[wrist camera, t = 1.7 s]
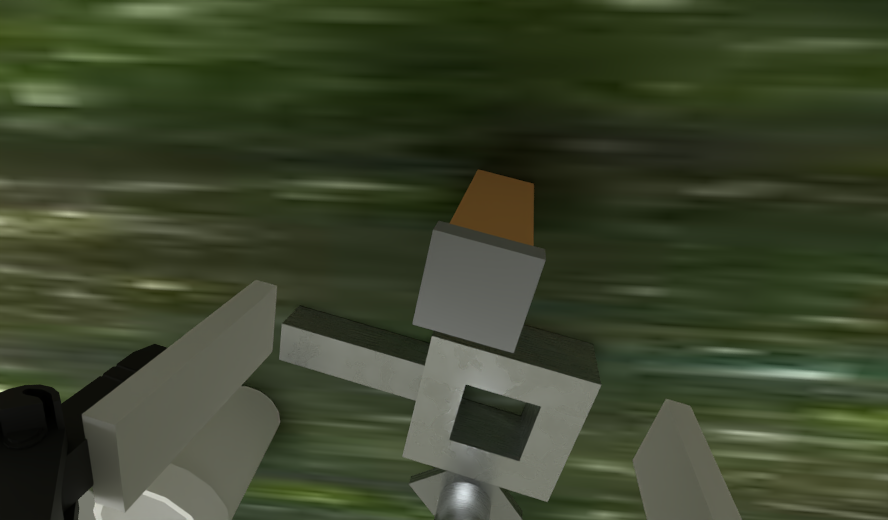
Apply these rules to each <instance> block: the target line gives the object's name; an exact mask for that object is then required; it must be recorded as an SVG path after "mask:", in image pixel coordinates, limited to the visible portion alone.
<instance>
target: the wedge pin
mask: <svg viewBox="0 0 888 520" xmlns="http://www.w3.org/2000/svg"><path fill="white" fill-rule="evenodd" d="M533 233H534V184H533V183H529V182H525V181H521V180H518V179H514V178H510V177H506V176H502V175H498V174H494V173H491V172H487V171H483V170H479V169H478V170H477V172H476V174H475V176H474V178H473V180H472V182H471V184H470V185H469V187H468V189H467V191H466V193H465V195H464V197H463V199H462V201H461V203H460V205H459V206H458V208H457V210H456V212H455V214H454V216H453V218H452V220H451V222H450V224H449V223H446V222H442V221H438V223H437V224H436V226H435V228H434V229H433V233H432V238H431V242H430V247H429V251H428V256H427V260H426V265H425V270H424V274H423V279H422V283H421V288H420V292H419V297H418V301H417V306H416V310H415V315H414V319H413V325H417V326H420V327H424V328H427V329H431V330H434V331H438V332H441V333H445V334H448V335H452V336H455V337H458V338H462V339H465V340H469V341H472V342H476V343H479V344H483V345H486V346H490V347H493V348H497V349H500V350H504V351H507V352H511V353H514V351H515V348H516V345H517V342H518V339H519V336H520V333H521V330H522V327H523V324H524V321H525V319H526V316H527V313H528V310H529V307H530V304H531V301H532V298H533V295H534V292H535V289H536V287H537V284H538V281H539V278H540V275H541V272H542V269H543V266H544V263H545V260H546V258H545V249H542V248H538V247H535V246H533Z"/></svg>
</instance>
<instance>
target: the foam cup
mask: <svg viewBox="0 0 888 520" xmlns="http://www.w3.org/2000/svg"><path fill="white" fill-rule="evenodd" d="M279 424H280V417H279V411H278V409H277V408H276V406H275V405H274V403H273V401H272V400H271V399H270V398H268V397H267V396H266V395H264V394H263V393H262V392H261V391H258V390H256V389H253V388H250V387H247V386H240V388H239V389H238V390H237V391H236V392H235V393H234V394H233V395H232V396H231V397H230V398H229V400H228V401H227V402H226V403H225V404H224V405H223V406H222V407H221V408H220V409H219V410H218V412H217V413H216V414H215V415H214V416H213V417H212V418H211V419H210V420H209V421H208V423H207V424H206V425H205V426H204V427H203V428H202V429H201V430H200V431H199V432H198V433H197V435H196V436H195V437H194V438H193V439H192V440H191V441H190V442H189V443H188V444H187V446H186V447H185V448H184V449H183V450H182V451H181V452H180V453H179V454H178V455H177V456H176V458H175V459H174V460H173V461H172V462H171V463H170V464H169V465H168V466H167V467H166V468H165V470H164V471H163V472H162V473H161V474H160V475H159V476H158V477H157V478H156V479H155V481H154V482H153V483H152V484H151V485H150V486H149V487H148V488H147V489H146V490H145V491H144V493H143V494H142V495H141V496H140V497H139V498H138V499H137V500H136V501H135V502H134V503H133V505H132V506H131V507H130V508H129V509H128V510H127V511H126V512H125V513H124V512H121V511H118V510H115V509H112V508H109V507H106V506H103V505H100V504H97V503H95V506H94V510H93V512H94V515H95V518H96V520H232V518H233V516H234V514H235V512H236V510H237V508H238V506H239V504H240V502H241V500H242V498H243V496H244V494H245V492H246V490H247V488H248V486H249V484H250V482H251V480H252V478H253V476H254V474H255V472H256V470H257V468H258V466H259V464H260V462H261V460H262V458H263V456H264V454H265V452H266V450H267V448H268V446H269V444H270V442H271V440H272V438H273V436H274V434H275V433H276V431H277V429H278V426H279Z"/></svg>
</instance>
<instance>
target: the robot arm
mask: <svg viewBox="0 0 888 520" xmlns="http://www.w3.org/2000/svg"><path fill="white" fill-rule="evenodd" d="M276 294H277V286H276V285H272V284H269V283H265V282H262V281H258V280H255V281H254V282H252V283H251V284H250V285H249V286H247V287H246V288H245V289H243V290H242V291H241V292H239V293H238V294H237V295H236V296H234V297H233V298H232V299H230V300H229V301H228V302H227V303H225V304H224V305H223V306H221V307H220V308H219V309H217V310H216V311H215V312H214V313H212V314H211V315H210V316H208V317H207V318H206V319H205V320H203V321H202V322H201V323H199V324H198V325H197V326H195V327H194V328H193V329H192V330H190V331H189V332H188V333H186V334H185V335H184V336H183V337H181V338H180V339H179V340H177V341H176V342H175V343H173V344H172V345H171V346H170V347H168V348H166V347H163V346H160V345H157V344H153V345H150V346H148V347H145V348H143V349H140V350H138V351H135V352H133V353H132V354H130V355H129V356H127V357H126V358H125V359H123V360H122V361H120V362H119V363H118V364H117V366H116V367H114V366H113V367H112V368H111V369H109V370H108V371H107V372H105V373H104V374H103V376H102V377H101V376H100V377H98V378H97V379H95V380H94V381H93V382H91V383H90V384H88V385H87V386H86V387H84V388H83V389H81V390H80V391H79V392H77V393H76V394H74V395H73V396H72V397H70V398H69V399H68V400H66V401H65V402H63V403H62V404H61V400H60V395H59V392H58V391H56V390H55V389H54V388H52V387H49V386H44V385H24V386H20V387H15V388H11V389H8V390H5V391H3V392H1V393H0V520H78V514H79V504H78V499H79V498H80V497H81V496H82V495H83V494H84V493H85V492H87V491H88V490H89V489H90V488H91V487H92V486H93V492H94V499H95V503H97V504H100V505H103V506H106V507H109V508H112V509H115V510H118V511H121V512H124V513H125V512H126V511H127V510H128V509H129V508H130V507H131V506H132V505H133V503H134V502H135V501H136V500H137V499H138V498H139V497H140V496H141V495H142V494H143V493H144V491H145V490H146V489H147V488H148V487H149V486H150V485H151V484H152V483H153V482H154V481H155V479H156V478H157V477H158V476H159V475H160V474H161V473H162V472H163V471H164V470H165V468H166V467H167V466H168V465H169V464H170V463H171V462H172V461H173V460H174V459H175V458H176V456H177V455H178V454H179V453H180V452H181V451H182V450H183V449H184V448H185V447H186V446H187V444H188V443H189V442H190V441H191V440H192V439H193V438H194V437H195V436H196V435H197V433H198V432H199V431H200V430H201V429H202V428H203V427H204V426H205V425H206V424H207V423H208V421H209V420H210V419H211V418H212V417H213V416H214V415H215V414H216V413H217V412H218V410H219V409H220V408H221V407H222V406H223V405H224V404H225V403H226V402H227V401H228V400H229V398H230V397H231V396H232V395H233V394H234V393H235V392H236V391H237V390H238V389H239V388H240V386H241V385H242V384H243V383H244V382H245V381H246V380H247V379H248V378H249V377H250V375H251V374H252V373H253V372H254V371H255V370H256V369H257V368H258V367H259V366H260V365H261V363H262V362H263V361H264V360H265V359H266V358H267V357H268V356H269V355H270V354H271V353H272V349H273V335H274V321H275V307H276ZM633 464H634V468H635V472H636V476H637V481H638V485H639V489H640V493H641V497H642V501H643V505H644V509H645V513H646V517H647V520H742V519H741V517H740V514H739V512H738V510H737V508H736V506H735V503H734V501H733V499H732V497H731V495H730V492H729V490H728V488H727V486H726V483H725V481H724V479H723V477H722V475H721V472H720V470H719V468H718V466H717V464H716V461H715V459H714V457H713V455H712V453H711V450H710V448H709V446H708V444H707V442H706V439H705V437H704V435H703V433H702V431H701V428H700V426H699V424H698V422H697V419H696V417H695V415H694V413H693V411H692V408H691V406H689V405H685V404H682V403H679V402H675V401H672V400H668V399H666V400H665V402H664V403H663V405H662V407H661V409H660V411H659V413H658V415H657V416H656V418H655V420H654V422H653V424H652V426H651V427H650V429H649V431H648V433H647V435H646V437H645V439H644V440H643V442H642V444H641V446H640V448H639V450H638V451H637V453H636V455H635V457H634V459H633Z"/></svg>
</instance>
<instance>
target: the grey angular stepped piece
mask: <svg viewBox="0 0 888 520" xmlns="http://www.w3.org/2000/svg"><path fill="white" fill-rule="evenodd" d="M279 360H283V361H286V362H289V363H293V364H296V365H299V366H303V367H306V368H309V369H313V370H316V371H319V372H323V373H326V374H329V375H333V376H336V377H339V378H342V379H346V380H349V381H352V382H356V383H359V384H362V385H366V386H369V387H372V388H376V389H379V390H382V391H386V392H389V393H392V394H396V395H399V396H402V397H406V398H409V399H412V400H416V403H415V407H414V412H413V416H412V420H411V424H410V428H409V432H408V436H407V440H406V444H405V448H404V452H403V456H402V457H405V458H408V459H411V460H415V461H418V462H421V463H424V464H427V465H431V466H434V467H437V468H434V469H431V470H428V471H425V472H422V473H419V474H416V475H414V476H411V479H410V482H409V485H410V486H411V487H412V488H413V490H414V491H415V492H416V493H417V495H418V496H419V497H420V499H421V500H422V501H423V502H424V504H425V505H426V506H427V507H428V509H429V510H430V511H431V512H432V514H433V515H434V516H435V519H434V520H522V510H521V508H520V507H519V506H518V504H517V503H516V502H515V500H514V499H513V497H512V496H511V495H510V493H509V492H508V490H511V491H514V492H517V493H521V494H524V495H527V496H530V497H533V498H537V499H540V500H543V501H546V502H548V500H549V498H550V495H551V493H552V491H553V489H554V487H555V484H556V482H557V480H558V478H559V476H560V474H561V471H562V469H563V467H564V465H565V463H566V461H567V458H568V456H569V454H570V452H571V450H572V447H573V445H574V443H575V441H576V439H577V437H578V434H579V432H580V430H581V428H582V426H583V424H584V421H585V419H586V417H587V415H588V413H589V410H590V408H591V406H592V404H593V402H594V400H595V397H596V395H597V393H598V391H599V389H600V387H601V381H600V377H599V372H598V367H597V362H596V357H595V352H594V347H593V344H590V343H586V342H583V341H579V340H576V339H572V338H569V337H565V336H562V335H558V334H555V333H551V332H548V331H544V330H540V329H537V328H533V327H530V326H526V325H523V327H522V330H521V333H520V336H519V339H518V342H517V345H516V348H515V351H514V353H511V352H507V351H504V350H500V349H497V348H493V347H490V346H486V345H483V344H479V343H476V342H472V341H469V340H465V339H462V338H458V337H455V336H452V335H448V334H445V333H441V332H438V331H434V332H433V335H432V338H431V342H430V343H426V342H423V341H419V340H416V339H412V338H409V337H405V336H402V335H399V334H395V333H392V332H388V331H385V330H381V329H378V328H374V327H371V326H368V325H364V324H361V323H357V322H354V321H350V320H347V319H343V318H340V317H337V316H333V315H330V314H326V313H323V312H319V311H316V310H313V309H309V308H306V307H302V306H299V307H298V308H297V309H296V310H295V311H294V312H293V313H292V314H291V315H290V316H289V317H288V318H287V319H286V320H285V321H284V322H283V323H282V330H281V343H280V356H279ZM465 385H470V386H473V387H476V388H480V389H483V390H487V391H490V392H493V393H497V394H500V395H504V396H507V397H510V398H514V399H517V400H520V401H524V402H526V405H525V407H524V410H523V413H522V415H521V416H519V415H516V414H512V413H509V412H505V411H502V410H499V409H495V408H492V407H489V406H485V405H482V404H479V403H475V402H472V401H469V400H465V399H462V395H463V391H464V388H465ZM507 489H508V490H507Z"/></svg>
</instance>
